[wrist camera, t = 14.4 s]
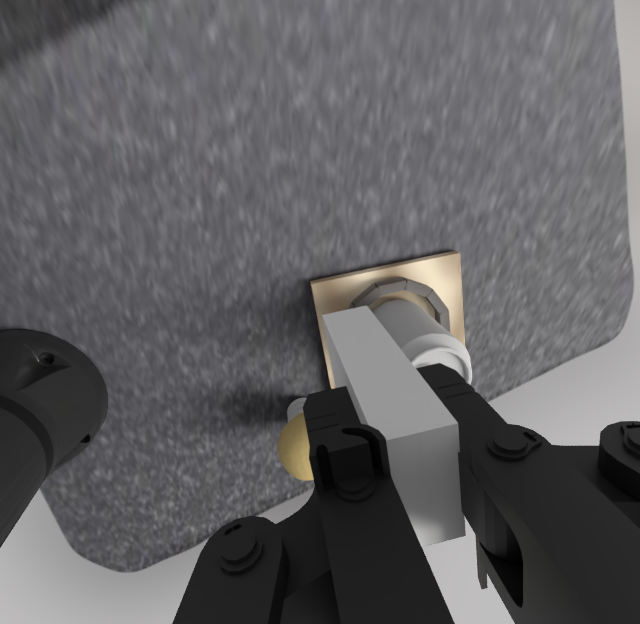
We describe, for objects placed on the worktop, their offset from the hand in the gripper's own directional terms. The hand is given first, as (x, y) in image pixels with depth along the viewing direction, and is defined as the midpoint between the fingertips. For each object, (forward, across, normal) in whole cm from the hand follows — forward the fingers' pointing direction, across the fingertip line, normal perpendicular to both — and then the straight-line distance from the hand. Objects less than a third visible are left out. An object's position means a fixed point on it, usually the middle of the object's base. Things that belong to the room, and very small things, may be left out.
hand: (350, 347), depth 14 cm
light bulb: (+30, -3, -21) cm, 36 cm away
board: (+29, +9, -13) cm, 33 cm away
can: (+28, +9, -13) cm, 32 cm away
